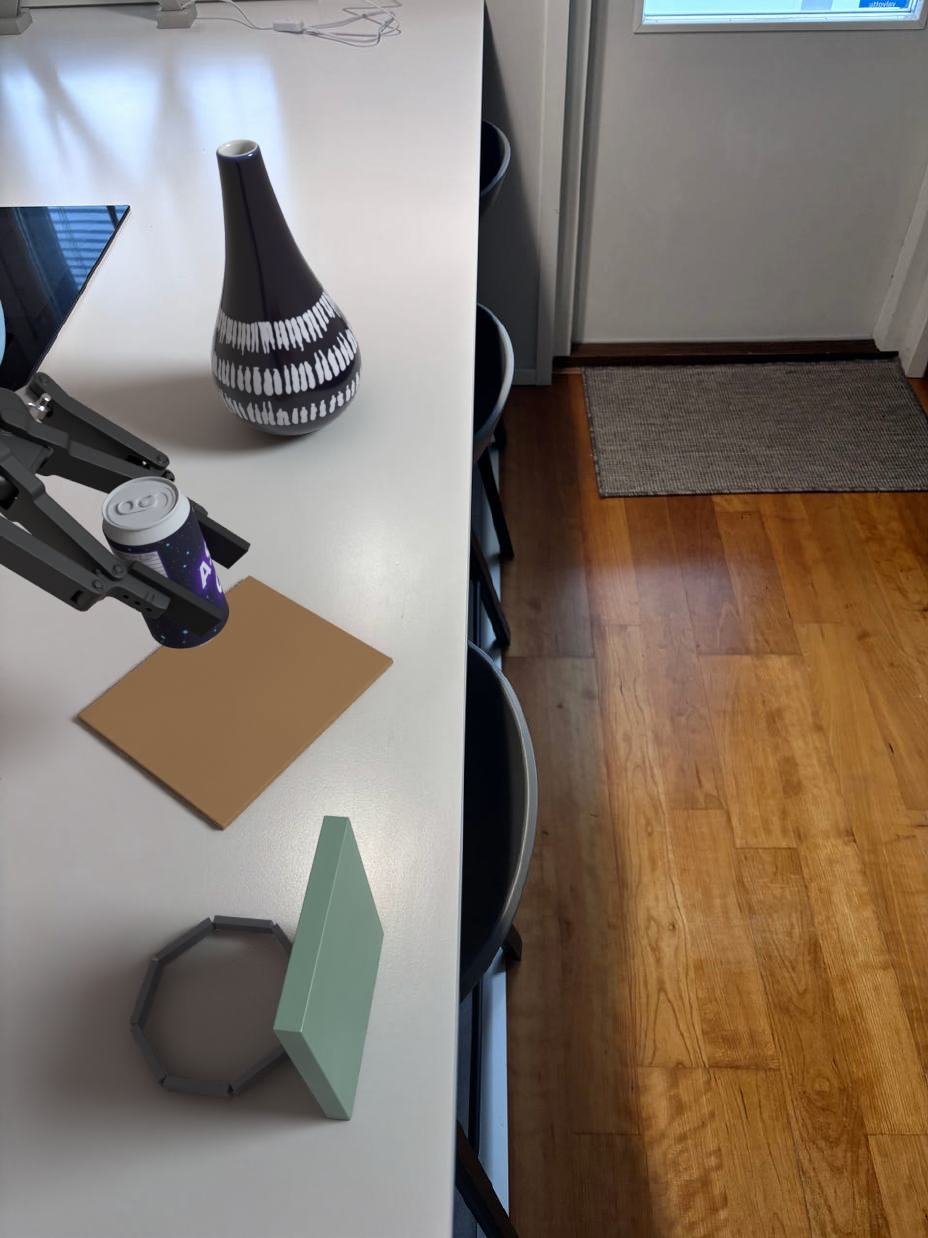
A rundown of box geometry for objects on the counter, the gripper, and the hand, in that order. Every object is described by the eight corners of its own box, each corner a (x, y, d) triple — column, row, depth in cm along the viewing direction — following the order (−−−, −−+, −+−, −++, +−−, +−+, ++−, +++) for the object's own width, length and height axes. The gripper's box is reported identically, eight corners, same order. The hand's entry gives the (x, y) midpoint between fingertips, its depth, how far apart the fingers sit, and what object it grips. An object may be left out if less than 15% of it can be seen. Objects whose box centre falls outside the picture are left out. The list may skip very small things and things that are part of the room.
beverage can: (237, 645, 67) (190, 520, 58) (156, 665, 66) (96, 542, 57) (227, 589, 71) (182, 463, 62) (150, 608, 70) (93, 483, 61)
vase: (205, 452, 104) (114, 181, 82) (263, 370, 114) (197, 108, 92) (340, 471, 100) (284, 192, 78) (388, 384, 110) (350, 115, 88)
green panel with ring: (115, 1093, 60) (9, 1002, 48) (174, 914, 68) (96, 797, 56) (350, 1121, 58) (301, 1033, 46) (384, 933, 66) (349, 816, 54)
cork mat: (224, 830, 72) (222, 826, 72) (80, 719, 80) (77, 715, 80) (393, 663, 82) (392, 658, 82) (250, 579, 90) (249, 574, 90)
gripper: (-61, 332, 63) (236, 523, 73) (-228, 525, 51) (156, 722, 61) (-22, 257, 58) (289, 472, 69) (-195, 449, 46) (214, 675, 56)
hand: (226, 589), depth 65 cm, fingers closed on beverage can, 6 cm apart
